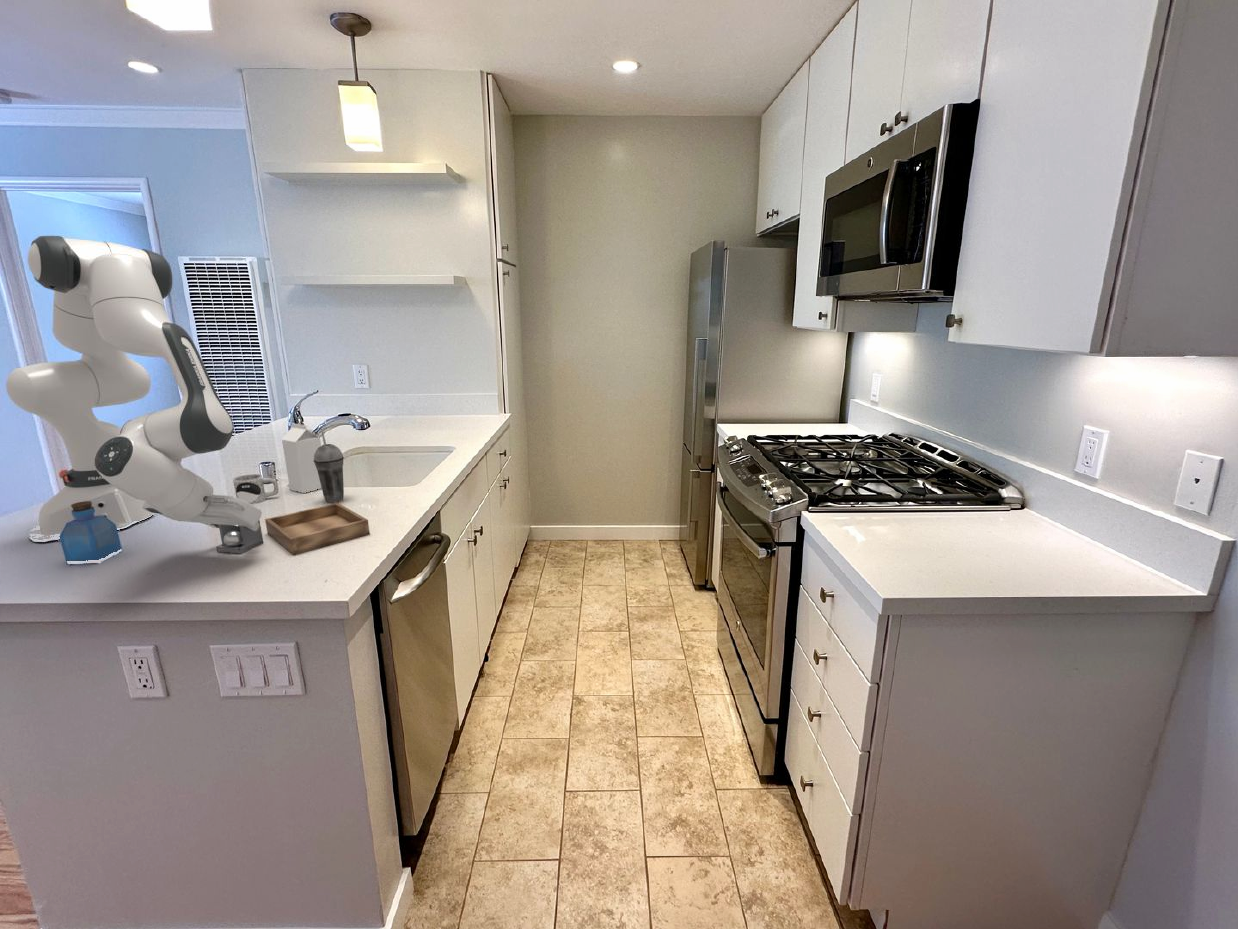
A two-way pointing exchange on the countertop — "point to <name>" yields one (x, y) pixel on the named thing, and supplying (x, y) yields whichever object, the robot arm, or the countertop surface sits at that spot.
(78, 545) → the perfume bottle
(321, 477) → the beverage cup
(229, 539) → the steel ball
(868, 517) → the countertop surface
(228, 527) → the grey ball display stand
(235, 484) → the mug
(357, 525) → the walnut tray
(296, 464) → the milk carton
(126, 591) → the countertop surface
